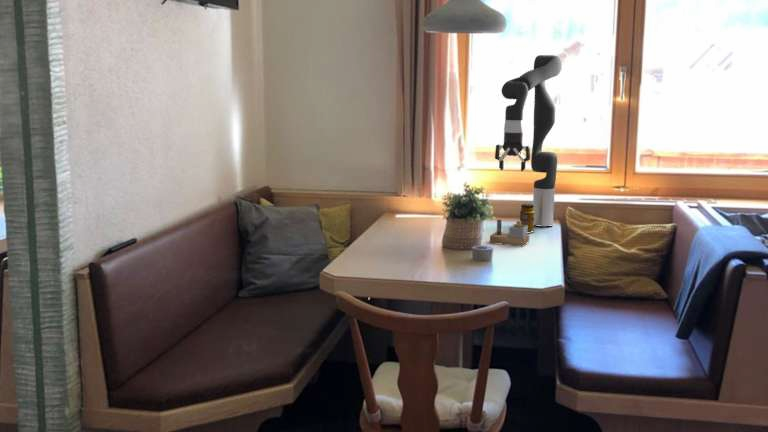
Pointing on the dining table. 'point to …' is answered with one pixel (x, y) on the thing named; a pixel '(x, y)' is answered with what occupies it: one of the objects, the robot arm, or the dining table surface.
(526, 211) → the condiment
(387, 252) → the dining table surface
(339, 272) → the dining table surface
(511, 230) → the link
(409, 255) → the dining table surface
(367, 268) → the dining table surface
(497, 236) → the keeper
